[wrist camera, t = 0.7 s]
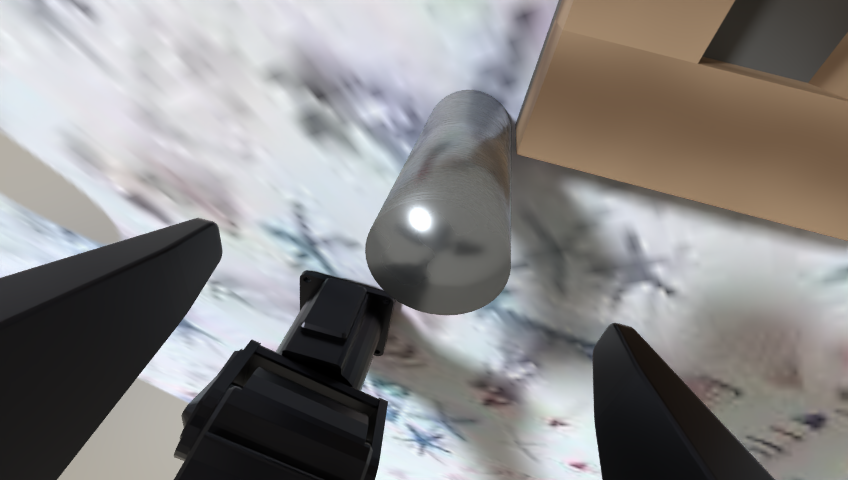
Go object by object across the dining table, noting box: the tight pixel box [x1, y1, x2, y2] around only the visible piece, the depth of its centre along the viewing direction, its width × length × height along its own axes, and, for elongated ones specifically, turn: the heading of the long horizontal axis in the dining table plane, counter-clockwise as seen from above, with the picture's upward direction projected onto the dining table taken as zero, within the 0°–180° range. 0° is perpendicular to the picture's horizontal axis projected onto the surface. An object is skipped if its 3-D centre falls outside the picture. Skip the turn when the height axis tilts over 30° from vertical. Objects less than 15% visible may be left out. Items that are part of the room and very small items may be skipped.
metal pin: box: [365, 90, 511, 315], centre depth 15 cm, size 4×4×10 cm
